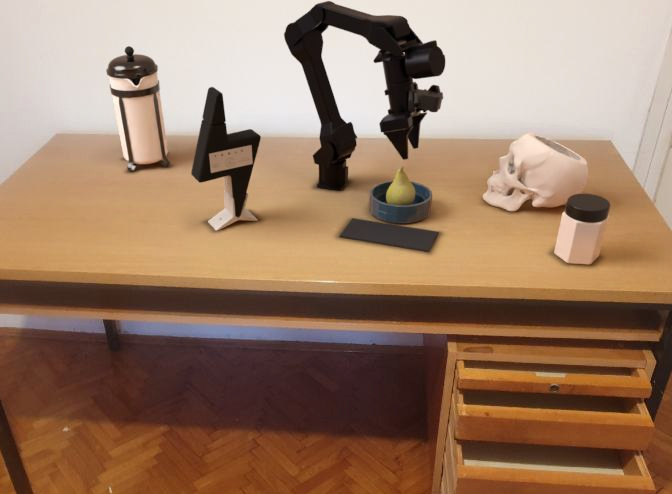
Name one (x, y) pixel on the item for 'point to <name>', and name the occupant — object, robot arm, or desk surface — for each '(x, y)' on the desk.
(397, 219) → the bowl
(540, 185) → the skull planter
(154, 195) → the desk surface
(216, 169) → the award
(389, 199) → the fruit
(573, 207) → the jar
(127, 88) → the coffee press
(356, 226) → the place mat
